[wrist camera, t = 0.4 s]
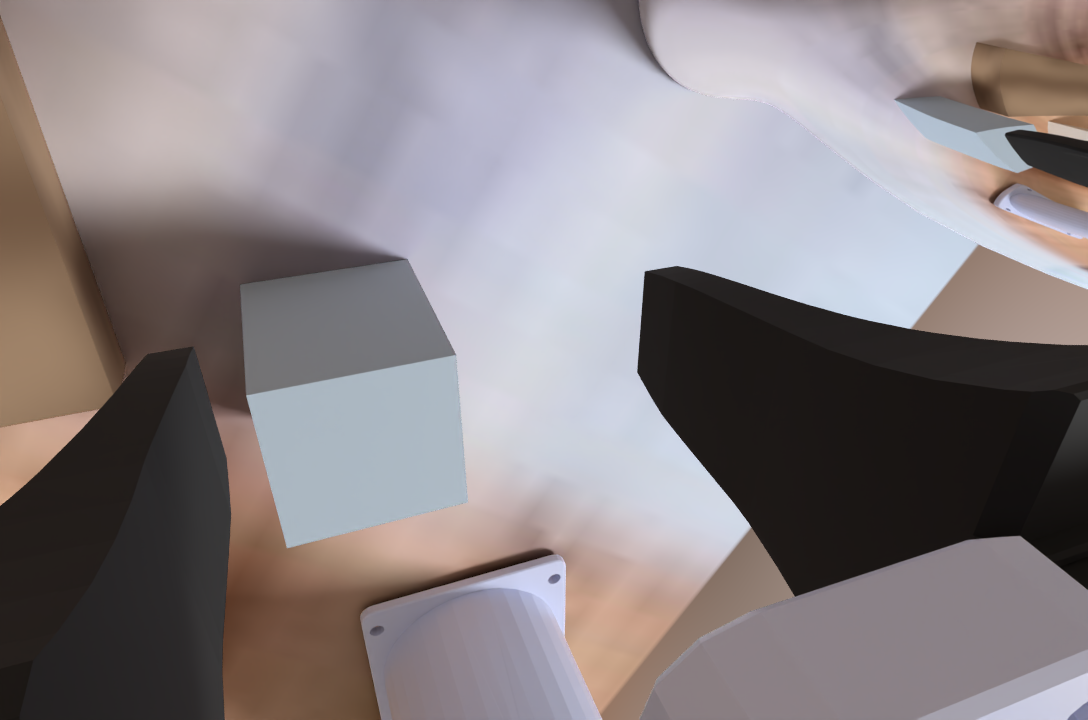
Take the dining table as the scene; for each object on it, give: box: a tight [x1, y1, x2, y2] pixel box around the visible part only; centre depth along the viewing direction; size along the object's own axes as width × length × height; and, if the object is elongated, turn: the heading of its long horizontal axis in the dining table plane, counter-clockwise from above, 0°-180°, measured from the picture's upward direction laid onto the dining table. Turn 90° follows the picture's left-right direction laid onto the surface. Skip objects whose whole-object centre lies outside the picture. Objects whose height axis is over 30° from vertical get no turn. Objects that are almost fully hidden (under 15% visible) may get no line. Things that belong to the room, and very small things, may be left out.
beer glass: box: [638, 0, 1088, 289], centre depth 14 cm, size 7×7×15 cm
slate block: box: [240, 259, 468, 548], centre depth 20 cm, size 4×4×6 cm
